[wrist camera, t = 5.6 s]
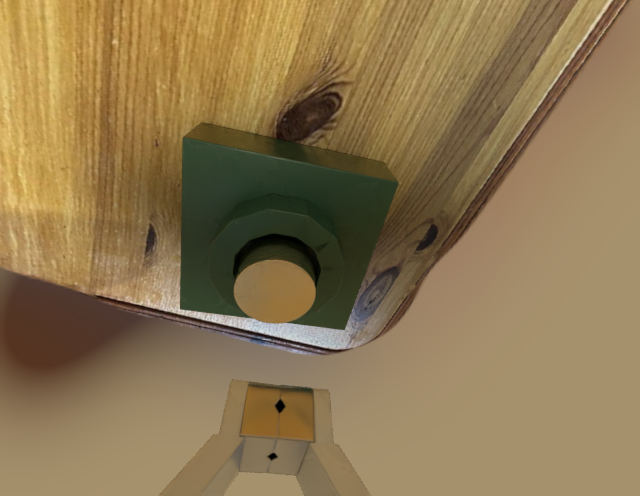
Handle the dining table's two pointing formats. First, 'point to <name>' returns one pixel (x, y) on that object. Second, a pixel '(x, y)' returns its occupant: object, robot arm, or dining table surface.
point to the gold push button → (275, 280)
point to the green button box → (277, 216)
